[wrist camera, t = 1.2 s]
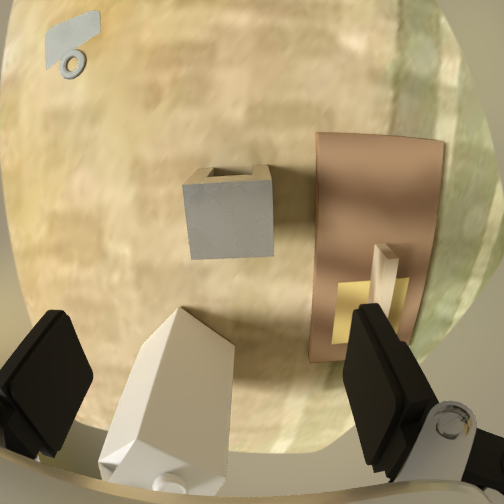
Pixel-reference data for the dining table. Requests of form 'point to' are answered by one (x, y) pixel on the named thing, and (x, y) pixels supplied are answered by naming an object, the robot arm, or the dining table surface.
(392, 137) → the rail board
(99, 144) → the dining table surface
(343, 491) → the robot arm
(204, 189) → the notched grey block
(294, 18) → the dining table surface
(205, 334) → the milk carton
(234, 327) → the dining table surface
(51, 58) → the mounting bracket
